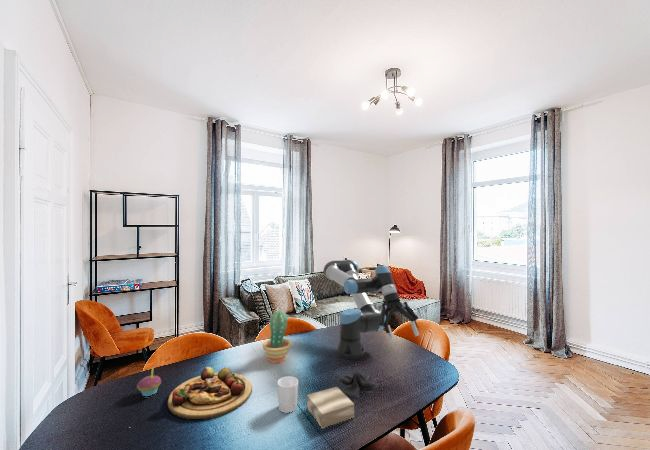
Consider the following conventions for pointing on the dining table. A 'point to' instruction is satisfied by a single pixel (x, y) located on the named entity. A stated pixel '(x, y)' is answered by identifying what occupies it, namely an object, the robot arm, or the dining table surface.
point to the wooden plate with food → (210, 394)
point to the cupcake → (149, 384)
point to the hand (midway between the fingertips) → (404, 337)
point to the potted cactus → (277, 338)
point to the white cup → (287, 394)
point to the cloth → (357, 384)
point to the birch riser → (330, 406)
